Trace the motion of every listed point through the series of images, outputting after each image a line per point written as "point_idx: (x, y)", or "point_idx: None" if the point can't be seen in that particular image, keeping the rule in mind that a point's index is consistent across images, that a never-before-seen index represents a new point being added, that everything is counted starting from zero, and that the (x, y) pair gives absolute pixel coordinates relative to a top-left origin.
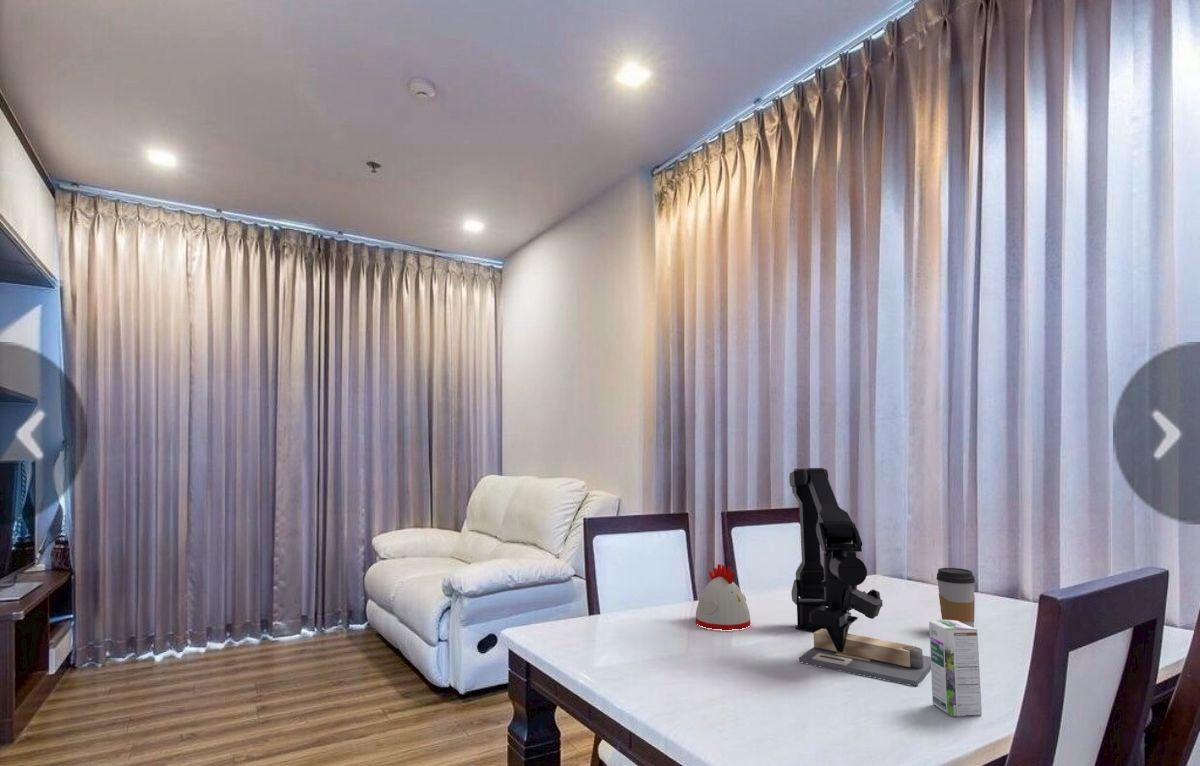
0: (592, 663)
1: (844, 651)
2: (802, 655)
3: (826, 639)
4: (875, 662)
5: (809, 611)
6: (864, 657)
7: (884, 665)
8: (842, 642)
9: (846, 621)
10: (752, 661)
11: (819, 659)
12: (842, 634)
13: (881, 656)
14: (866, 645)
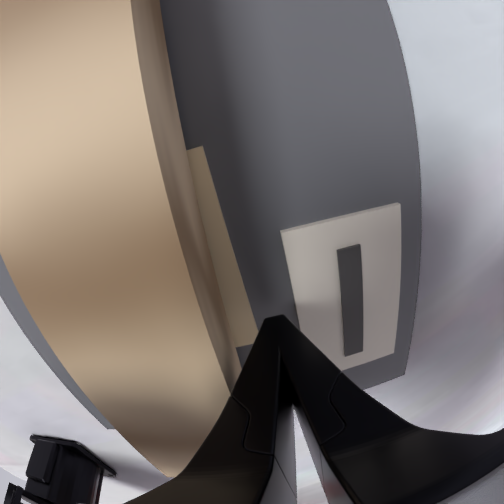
0: (498, 427)
1: (225, 323)
2: (372, 385)
3: None
4: (196, 101)
5: (81, 499)
6: None
7: (206, 30)
8: (320, 351)
9: (449, 501)
10: (439, 402)
11: (396, 328)
12: (365, 396)
13: (162, 59)
14: (173, 200)
